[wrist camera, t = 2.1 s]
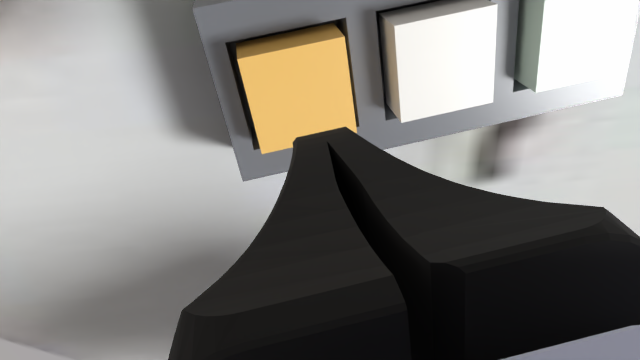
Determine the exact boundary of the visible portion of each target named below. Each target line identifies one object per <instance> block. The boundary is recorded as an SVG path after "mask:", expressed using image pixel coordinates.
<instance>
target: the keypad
mask: <svg viewBox="0 0 640 360" xmlns="http://www.w3.org/2000/svg"><path fill="white" fill-rule="evenodd" d="M436 1H440V0H194V3H193V7H192V10H193V14H194V17H195V20H196V24H197V27H198V31H199V34H200V37H201V41H202V44H203V48H204V51H205V54H206V58H207V61H208V65H209V68H210V71H211V75H212V78H213V81H214V85H215V88H216V92H217V95H218V98H219V102H220V105H221V109H222V112H223V115H224V119H225V122H226V125H227V129H228V132H229V136H230V139H231V142H232V146H233V149H234V153H235V156H236V159H237V163H238V166H239V170H240V173H241V176H242V180H243V181H248V180H252V179H256V178H261V177H265V176H270V175H274V174H278V173H283V172H287V171H288V170H289V167H290V163H291V158H292V153H293V147H292V148H287V149H283V150H278V151H274V152H270V153H265V154H262V153H261V149H260V145H259V142H258V138H257V134H256V130H255V126H254V122H253V118H252V115H251V111H250V107H249V103H248V99H247V95H246V92H245V88H244V84H243V80H242V76H241V72H240V68H239V65H238V61H237V51H236V43H239V42H244V41H249V40H254V39H258V38H263V37H268V36H273V35H278V34H282V33H287V32H292V31H297V30H301V29H306V28H311V27H316V26H321V25H325V24H330V23H334V24H335V25H336V27H337V28H338V29H339V30H340V31H341V33H342V34H343V35H344V36H345V43H346V51H347V59H348V66H349V74H350V82H351V90H352V97H353V105H354V113H355V121H356V128H357V133H356V134H358V135H359V136H361V137H362V138H364V139H365V140H367V141H368V142H370V143H372V144H373V145H375V146H377V147H378V148H380V149H382V150H384V149H388V148H393V147H397V146H402V145H406V144H410V143H415V142H419V141H424V140H428V139H432V138H437V137H441V136H446V135H450V134H454V133H459V132H463V131H468V130H472V129H476V128H481V127H485V126H490V125H494V124H498V123H503V122H507V121H512V120H516V119H520V118H525V117H529V116H534V115H538V114H542V113H547V112H551V111H556V110H560V109H564V108H569V107H573V106H578V105H582V104H586V103H591V102H595V101H600V100H604V99H608V98H613V97H617V96H622V95H623V91H624V86H625V81H626V76H627V71H628V67H629V62H630V57H631V52H632V47H633V42H634V37H635V32H636V27H637V23H638V18H639V13H640V0H639V3H638V7H637V12H636V17H635V22H634V27H633V32H632V37H631V42H630V47H629V52H628V57H627V62H626V67H625V72H624V73H622V74H618V75H613V76H609V77H604V78H600V79H595V80H591V81H586V82H582V83H577V84H573V85H568V86H564V87H560V88H555V89H551V90H546V91H542V92H537V93H535V92H534V91H532V90H531V89H529V88H527V87H526V86H524V85H523V84H521V83H520V82H518V81H517V80H515V79H514V68H515V53H516V39H517V24H518V10H519V0H489V1H491V2H493V3H496V4H498V6H497V28H496V50H495V72H494V94H493V103H488V104H484V105H479V106H475V107H470V108H466V109H461V110H457V111H452V112H448V113H444V114H439V115H435V116H430V117H426V118H421V119H417V120H412V121H408V122H403V123H401V122H400V121H399V119H398V118H397V117H396V115H395V114H394V113H393V111H392V110H391V109H390V108H389V106H388V105H387V104H386V92H385V81H384V70H383V58H382V47H381V35H380V24H379V13H383V12H388V11H393V10H397V9H402V8H407V7H412V6H416V5H421V4H426V3H431V2H436Z"/></svg>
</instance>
